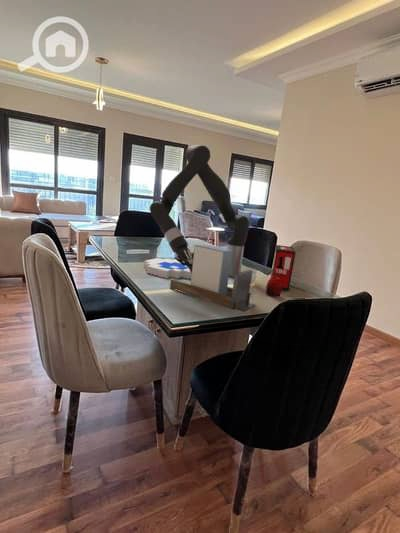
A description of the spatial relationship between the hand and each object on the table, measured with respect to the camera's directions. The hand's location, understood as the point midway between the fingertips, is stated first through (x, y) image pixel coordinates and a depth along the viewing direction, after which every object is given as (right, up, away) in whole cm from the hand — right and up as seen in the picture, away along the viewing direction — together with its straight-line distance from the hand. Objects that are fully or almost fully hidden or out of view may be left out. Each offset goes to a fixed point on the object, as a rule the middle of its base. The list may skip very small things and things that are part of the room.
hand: (194, 272), depth 140 cm
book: (+6, -10, -3) cm, 12 cm away
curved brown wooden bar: (+6, -10, -2) cm, 12 cm away
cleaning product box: (+43, -8, +26) cm, 51 cm away
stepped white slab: (-13, 0, +31) cm, 34 cm away
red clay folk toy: (+36, -11, +8) cm, 39 cm away
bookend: (+20, -14, -12) cm, 27 cm away
